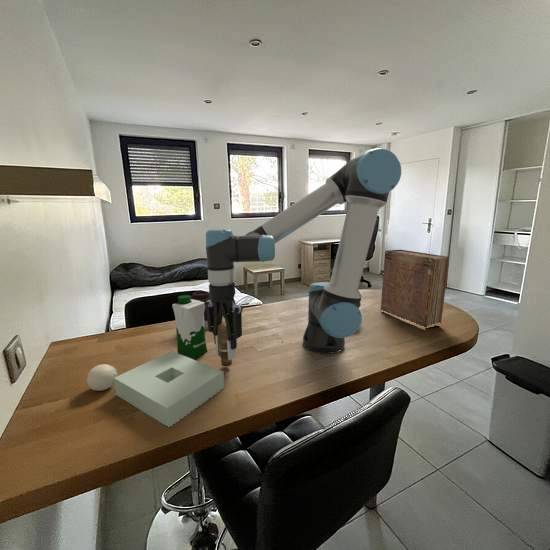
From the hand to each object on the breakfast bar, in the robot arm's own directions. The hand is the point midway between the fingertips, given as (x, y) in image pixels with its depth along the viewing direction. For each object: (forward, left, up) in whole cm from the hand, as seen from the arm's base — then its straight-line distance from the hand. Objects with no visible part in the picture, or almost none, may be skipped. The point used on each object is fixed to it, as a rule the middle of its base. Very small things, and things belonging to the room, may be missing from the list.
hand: (226, 355), depth 89 cm
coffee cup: (+30, -19, -4) cm, 36 cm away
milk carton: (+16, -1, -4) cm, 17 cm away
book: (-41, -76, -4) cm, 86 cm away
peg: (0, 0, -3) cm, 3 cm away
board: (+4, +17, -4) cm, 18 cm away
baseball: (+21, +26, -4) cm, 34 cm away
